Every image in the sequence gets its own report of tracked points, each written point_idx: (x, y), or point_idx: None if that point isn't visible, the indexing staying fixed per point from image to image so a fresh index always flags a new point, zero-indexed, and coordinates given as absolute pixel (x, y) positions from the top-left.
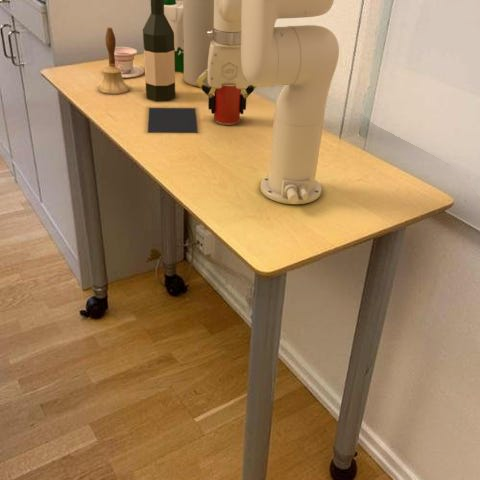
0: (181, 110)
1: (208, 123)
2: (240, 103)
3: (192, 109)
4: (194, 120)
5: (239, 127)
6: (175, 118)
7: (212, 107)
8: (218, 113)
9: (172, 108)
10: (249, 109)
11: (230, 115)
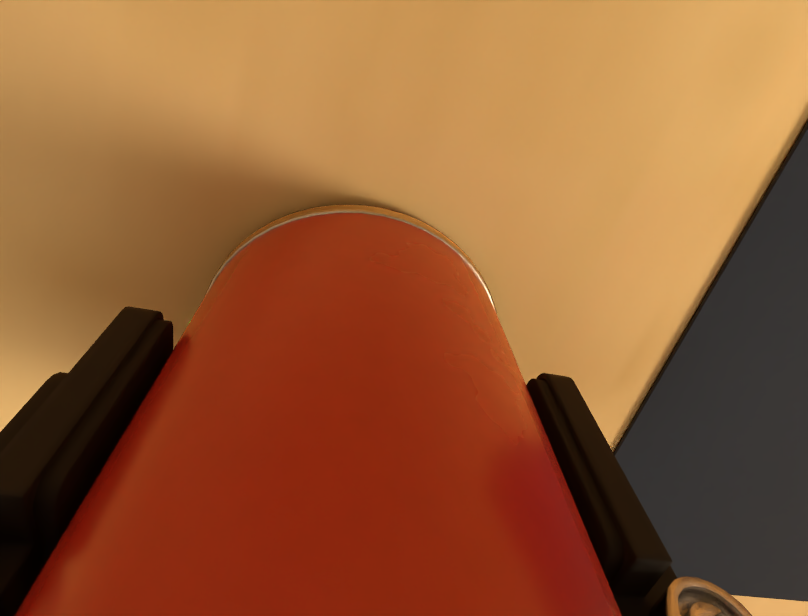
0: None
1: (570, 305)
2: None
3: None
4: (674, 382)
5: (240, 125)
6: (805, 440)
7: (592, 431)
8: (503, 340)
9: None
10: None
11: (346, 255)
